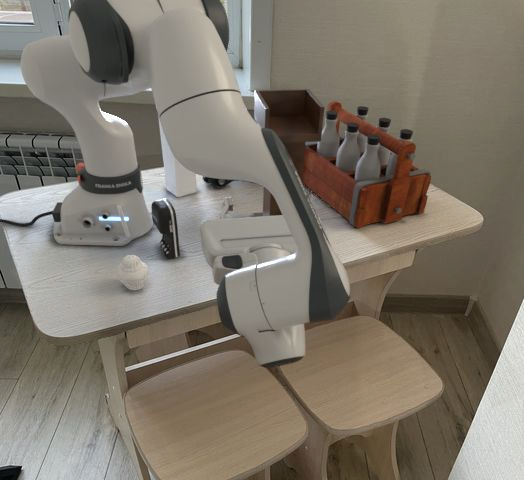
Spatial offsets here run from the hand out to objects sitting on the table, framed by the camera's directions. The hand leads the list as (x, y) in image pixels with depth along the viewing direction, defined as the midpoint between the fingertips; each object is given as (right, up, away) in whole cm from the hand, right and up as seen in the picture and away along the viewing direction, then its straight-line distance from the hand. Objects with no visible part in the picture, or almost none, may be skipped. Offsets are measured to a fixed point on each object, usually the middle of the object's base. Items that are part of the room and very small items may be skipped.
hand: (255, 197), depth 84 cm
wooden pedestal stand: (+6, +3, +34) cm, 35 cm away
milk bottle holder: (+26, +15, +48) cm, 57 cm away
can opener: (-6, +20, +52) cm, 56 cm away
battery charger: (-20, -4, +25) cm, 33 cm away
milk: (-20, +16, +48) cm, 54 cm away
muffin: (-24, -13, +16) cm, 32 cm away
